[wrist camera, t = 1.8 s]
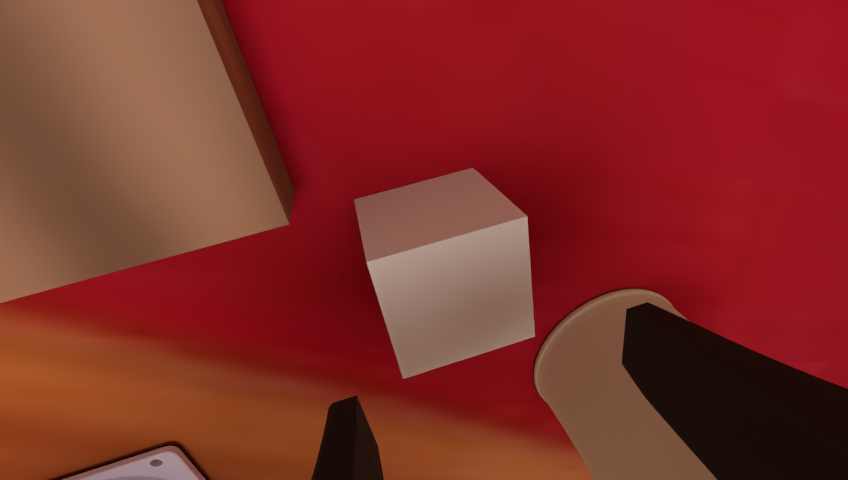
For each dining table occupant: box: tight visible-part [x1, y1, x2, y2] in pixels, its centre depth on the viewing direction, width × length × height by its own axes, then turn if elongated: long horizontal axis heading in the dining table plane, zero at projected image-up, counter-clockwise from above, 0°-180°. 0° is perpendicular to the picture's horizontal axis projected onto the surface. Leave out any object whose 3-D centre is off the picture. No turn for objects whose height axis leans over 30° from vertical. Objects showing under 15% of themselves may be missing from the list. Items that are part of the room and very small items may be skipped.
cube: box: [354, 168, 535, 379], centre depth 15 cm, size 5×5×5 cm
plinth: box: [0, 0, 295, 303], centre depth 10 cm, size 11×11×3 cm
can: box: [534, 289, 717, 480], centre depth 18 cm, size 9×9×12 cm
